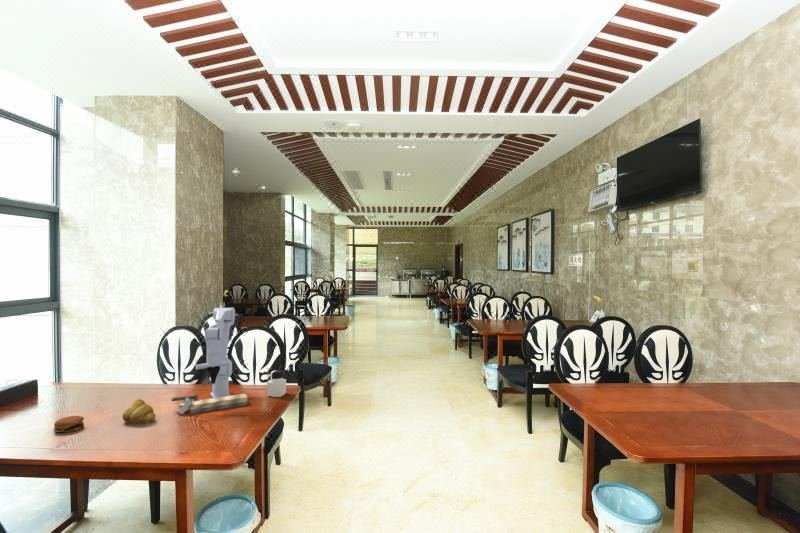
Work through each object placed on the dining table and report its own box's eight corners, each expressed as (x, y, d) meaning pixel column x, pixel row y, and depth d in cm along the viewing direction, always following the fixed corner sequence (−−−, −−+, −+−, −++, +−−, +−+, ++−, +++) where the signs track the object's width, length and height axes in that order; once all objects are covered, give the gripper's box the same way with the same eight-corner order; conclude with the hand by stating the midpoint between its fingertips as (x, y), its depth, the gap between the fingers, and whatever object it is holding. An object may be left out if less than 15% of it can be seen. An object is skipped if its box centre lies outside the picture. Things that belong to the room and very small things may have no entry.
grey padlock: (286, 393, 215) (286, 369, 215) (281, 397, 208) (281, 372, 208) (272, 392, 215) (273, 369, 216) (267, 396, 208) (267, 372, 208)
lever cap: (181, 411, 186) (175, 408, 185) (191, 399, 188) (185, 396, 187) (182, 414, 182) (176, 411, 181) (192, 402, 184) (186, 398, 183)
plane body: (190, 413, 183) (190, 405, 183) (188, 409, 189) (188, 401, 189) (247, 404, 196) (247, 397, 196) (244, 400, 201) (244, 393, 202)
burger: (50, 430, 164) (51, 418, 164) (80, 423, 171) (80, 412, 171) (57, 436, 158) (57, 423, 158) (87, 429, 165) (87, 417, 165)
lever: (197, 405, 192) (197, 394, 192) (197, 406, 191) (197, 395, 191) (171, 408, 188) (171, 397, 188) (171, 409, 186) (171, 398, 186)
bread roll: (161, 420, 175) (161, 400, 175) (138, 428, 166) (138, 407, 166) (140, 415, 180) (140, 397, 180) (117, 423, 171) (117, 403, 171)
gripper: (197, 356, 187) (196, 387, 186) (231, 353, 194) (231, 383, 194) (195, 354, 193) (194, 383, 192) (228, 351, 200) (228, 379, 200)
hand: (213, 383), depth 194 cm, fingers closed
